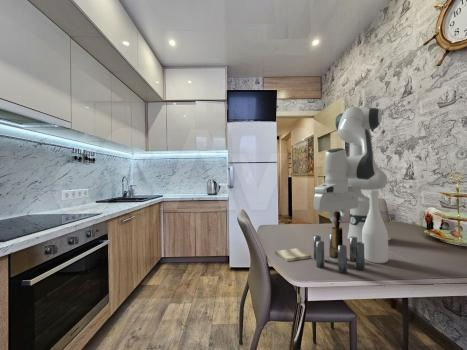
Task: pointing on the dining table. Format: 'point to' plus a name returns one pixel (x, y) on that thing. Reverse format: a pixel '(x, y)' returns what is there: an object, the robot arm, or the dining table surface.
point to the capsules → (340, 253)
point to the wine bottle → (375, 233)
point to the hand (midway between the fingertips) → (337, 220)
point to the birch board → (292, 254)
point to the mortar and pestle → (336, 235)
